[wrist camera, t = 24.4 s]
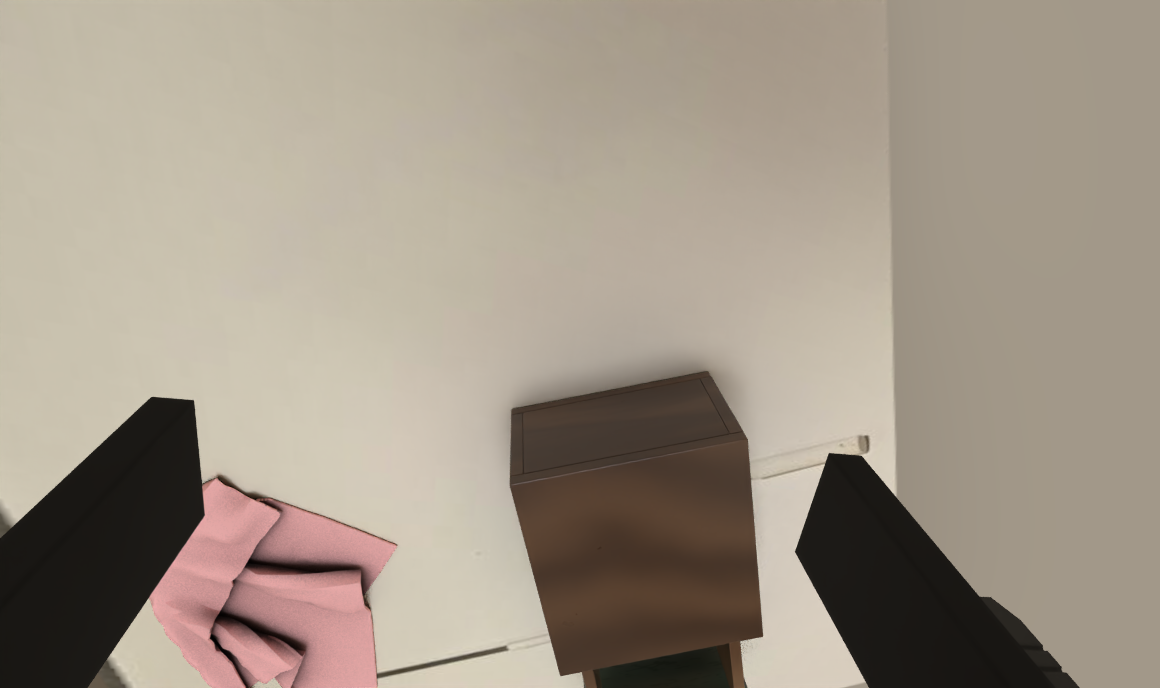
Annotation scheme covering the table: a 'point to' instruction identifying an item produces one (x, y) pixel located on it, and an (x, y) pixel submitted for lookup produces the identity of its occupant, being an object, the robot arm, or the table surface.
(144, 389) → the table surface
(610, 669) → the drawer
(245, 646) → the cloth
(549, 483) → the cabinet
